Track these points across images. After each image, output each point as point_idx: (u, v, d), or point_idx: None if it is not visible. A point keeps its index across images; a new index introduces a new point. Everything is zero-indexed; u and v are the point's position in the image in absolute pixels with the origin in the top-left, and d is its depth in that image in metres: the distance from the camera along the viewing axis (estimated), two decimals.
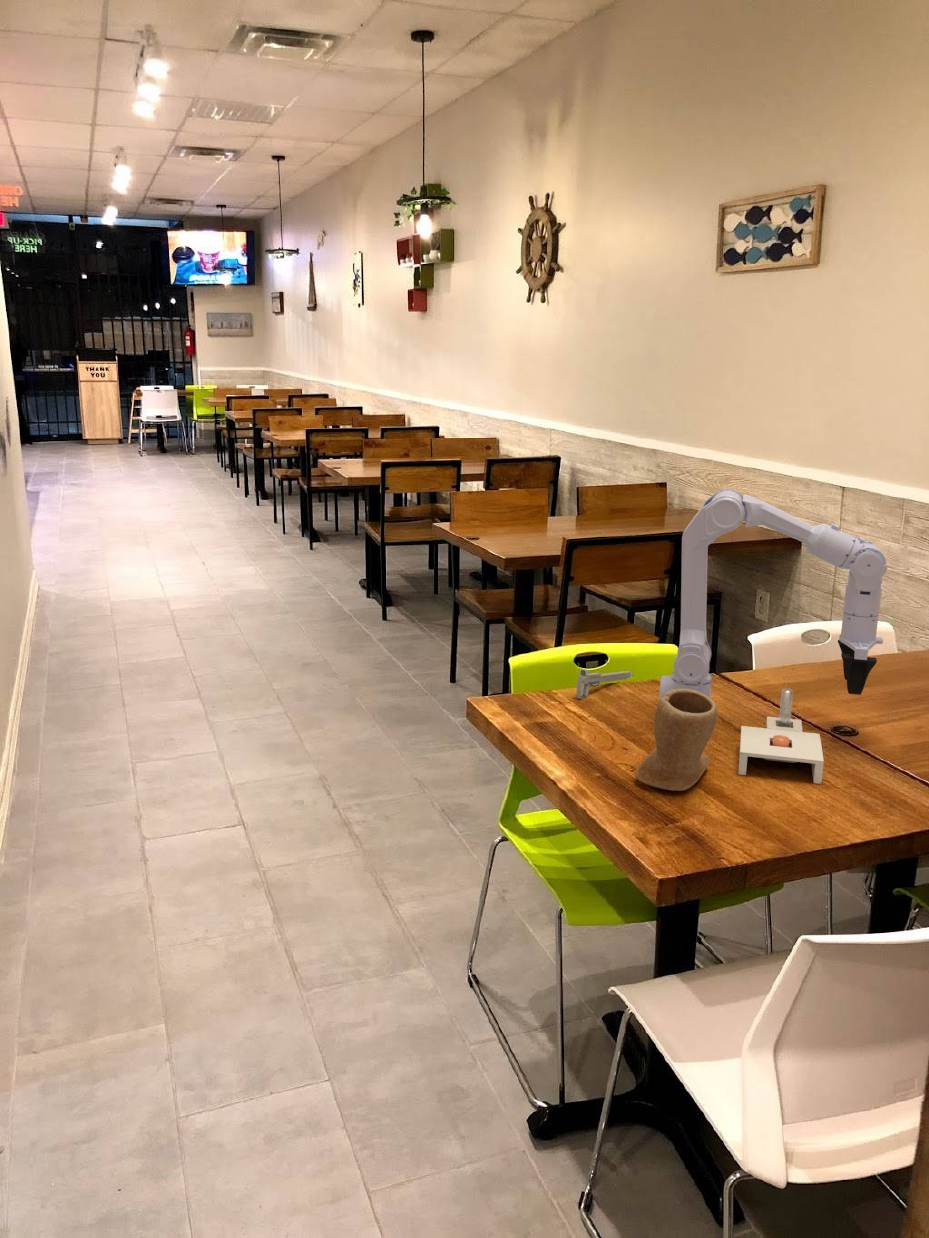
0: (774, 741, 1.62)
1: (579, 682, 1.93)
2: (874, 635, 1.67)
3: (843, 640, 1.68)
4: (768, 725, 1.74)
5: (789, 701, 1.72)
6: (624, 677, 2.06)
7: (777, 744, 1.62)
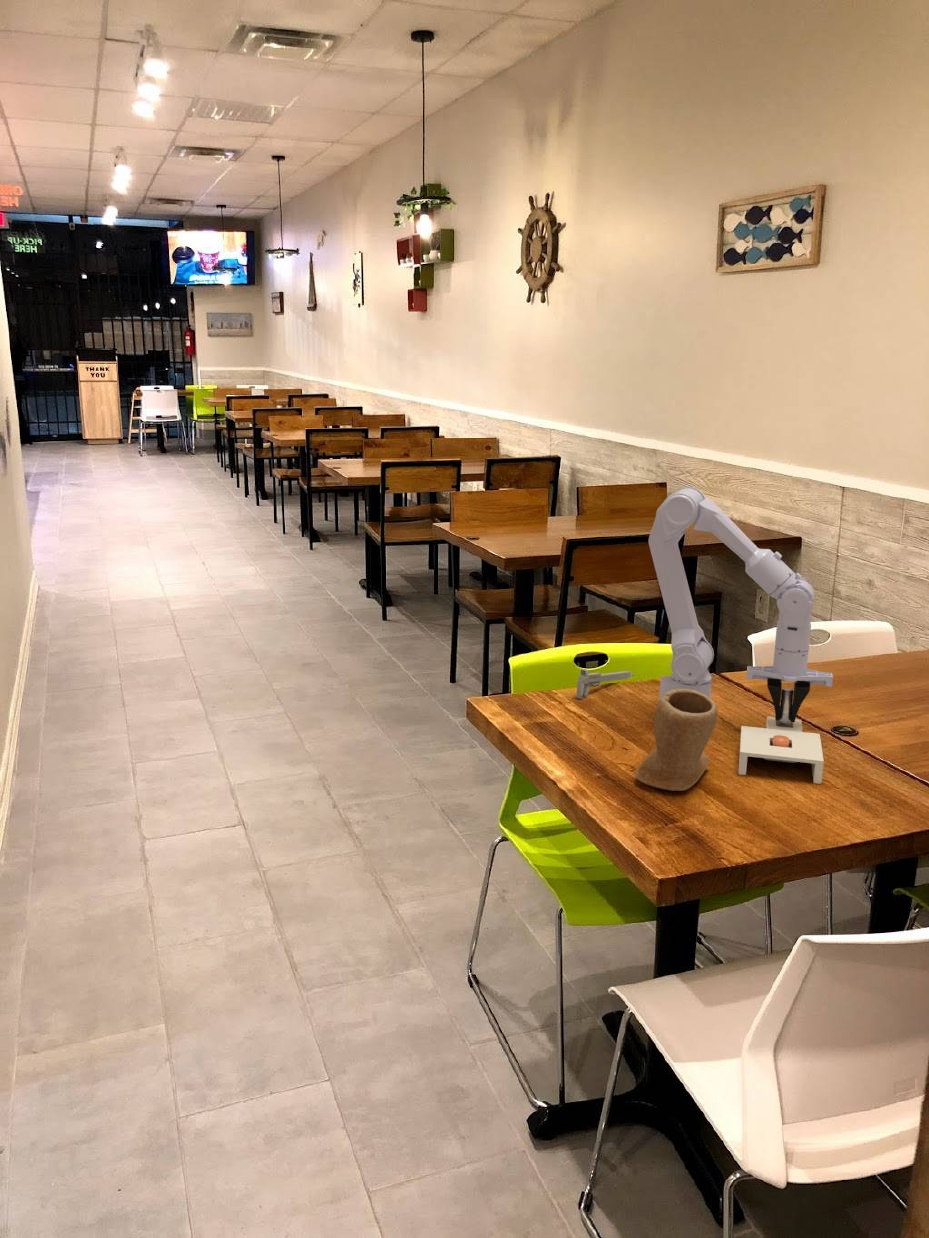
0: (774, 741, 1.62)
1: (579, 682, 1.93)
2: (781, 669, 1.70)
3: None
4: (768, 725, 1.74)
5: (789, 701, 1.72)
6: (624, 677, 2.06)
7: (777, 744, 1.62)
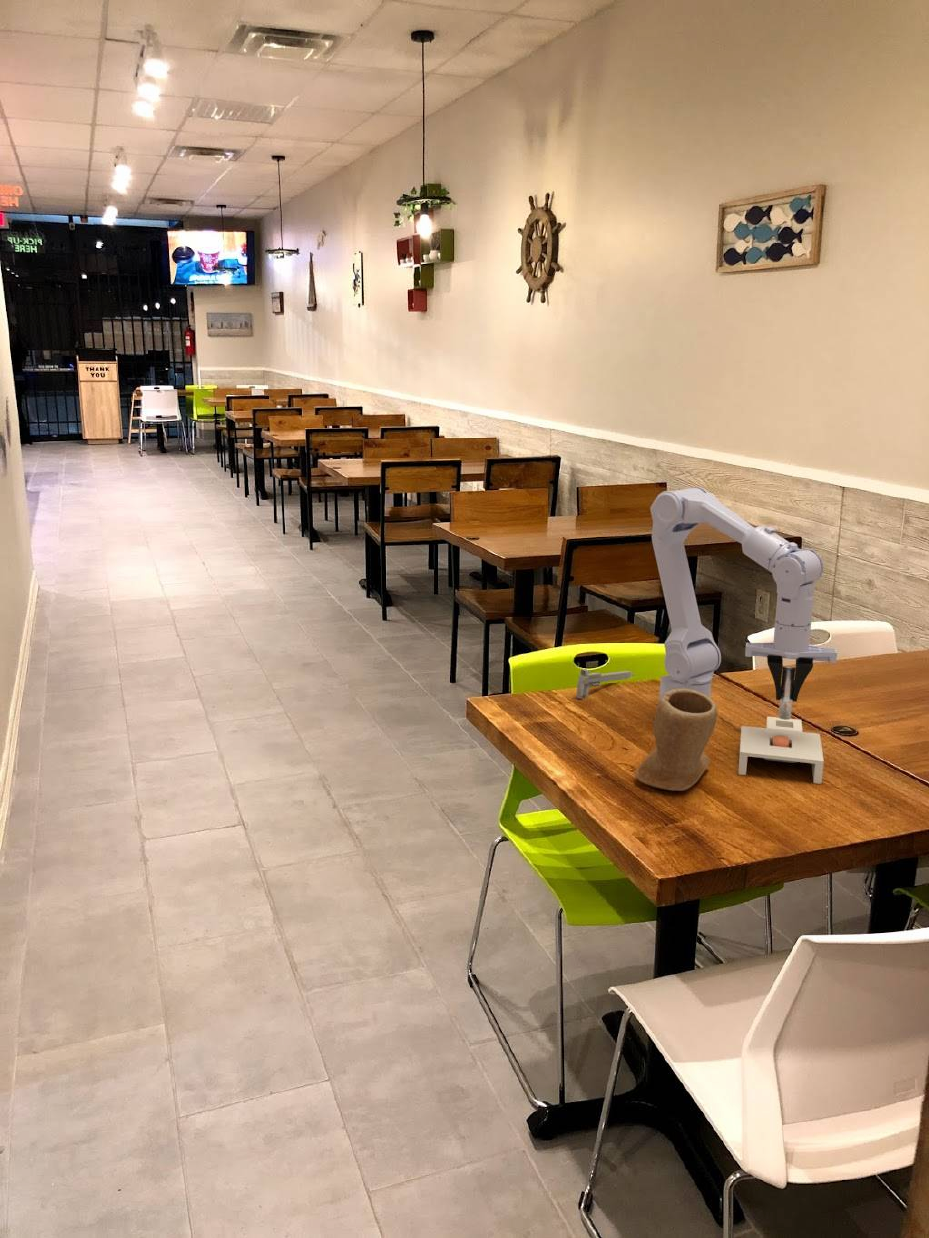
0: (774, 741, 1.62)
1: (579, 682, 1.93)
2: (782, 645, 1.60)
3: None
4: (768, 725, 1.74)
5: (791, 679, 1.62)
6: (624, 677, 2.06)
7: (777, 744, 1.62)
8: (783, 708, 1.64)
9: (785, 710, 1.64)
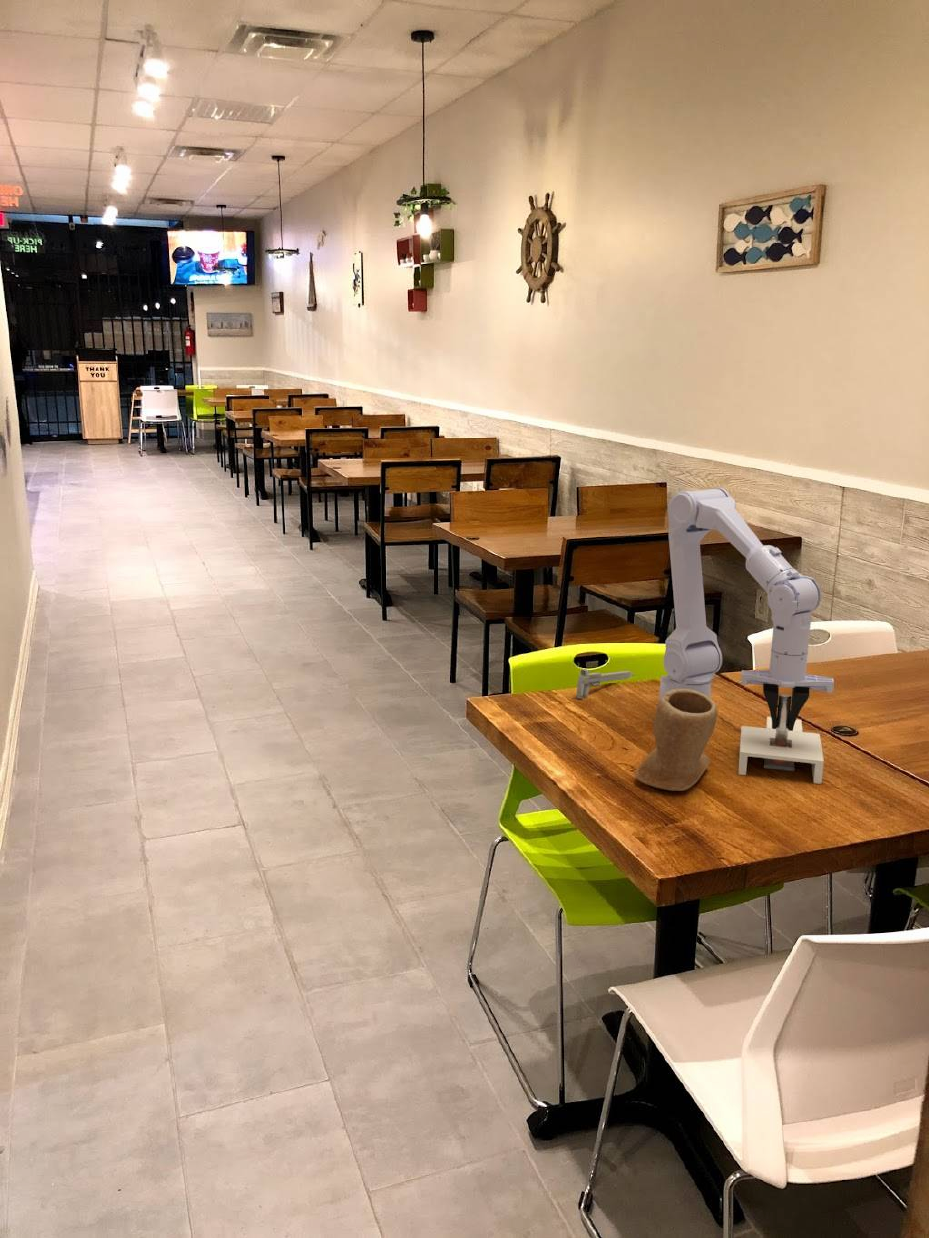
0: None
1: (579, 682, 1.93)
2: (778, 674, 1.57)
3: None
4: (768, 725, 1.74)
5: (787, 708, 1.60)
6: (624, 677, 2.06)
7: None
8: (779, 738, 1.61)
9: (781, 739, 1.61)
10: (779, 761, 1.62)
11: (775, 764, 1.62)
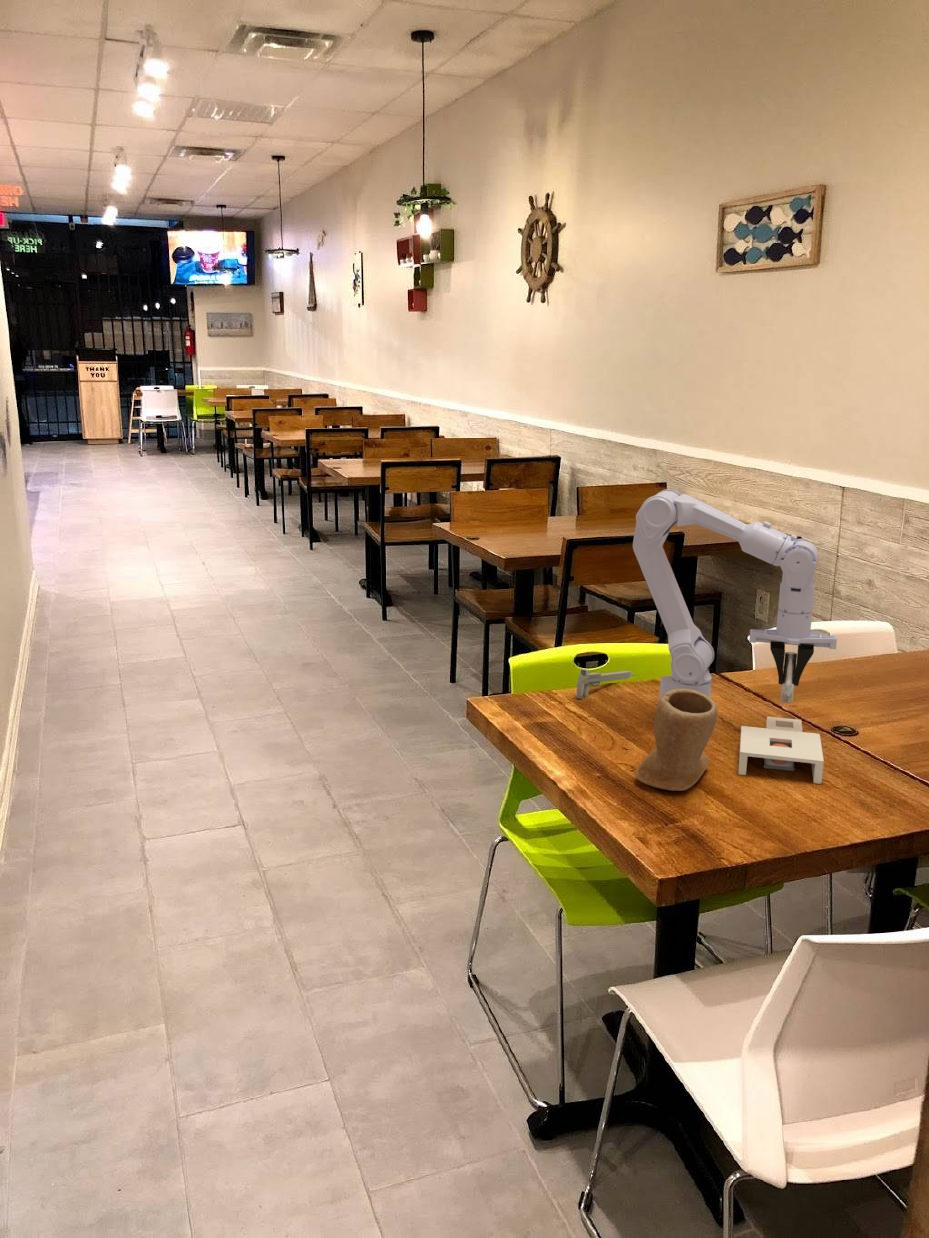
0: None
1: (579, 682, 1.93)
2: (785, 632, 1.68)
3: None
4: (768, 725, 1.74)
5: (793, 665, 1.70)
6: (624, 677, 2.06)
7: None
8: (785, 692, 1.72)
9: (787, 694, 1.72)
10: (779, 761, 1.62)
11: (775, 764, 1.62)
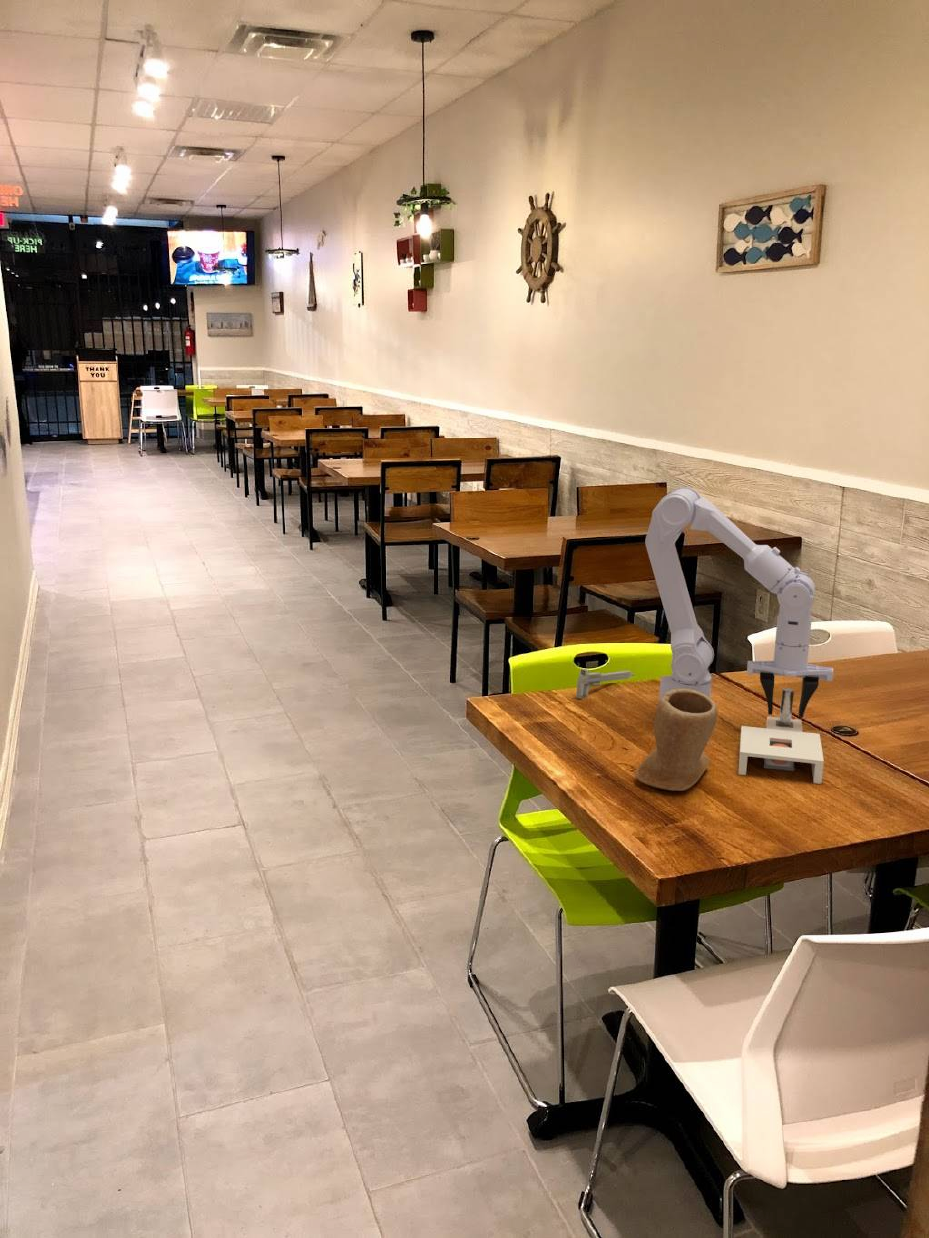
0: None
1: (579, 682, 1.93)
2: (782, 664, 1.70)
3: None
4: (768, 725, 1.74)
5: (790, 701, 1.72)
6: (624, 677, 2.06)
7: None
8: None
9: None
10: (779, 761, 1.62)
11: (775, 764, 1.62)
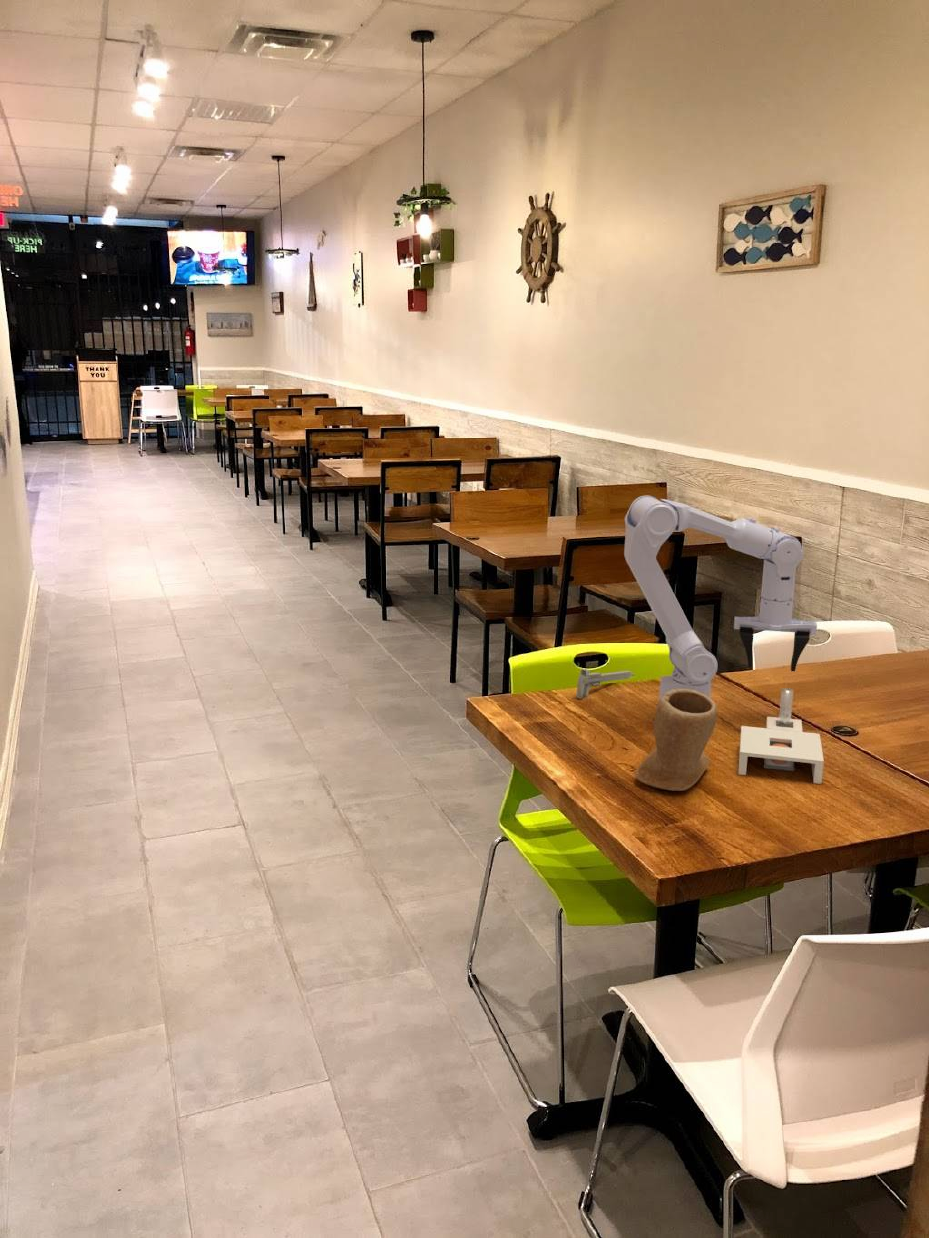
0: None
1: (579, 682, 1.93)
2: (767, 618, 1.76)
3: None
4: (768, 725, 1.74)
5: (789, 701, 1.72)
6: (624, 677, 2.06)
7: None
8: None
9: None
10: (779, 761, 1.62)
11: (775, 764, 1.62)
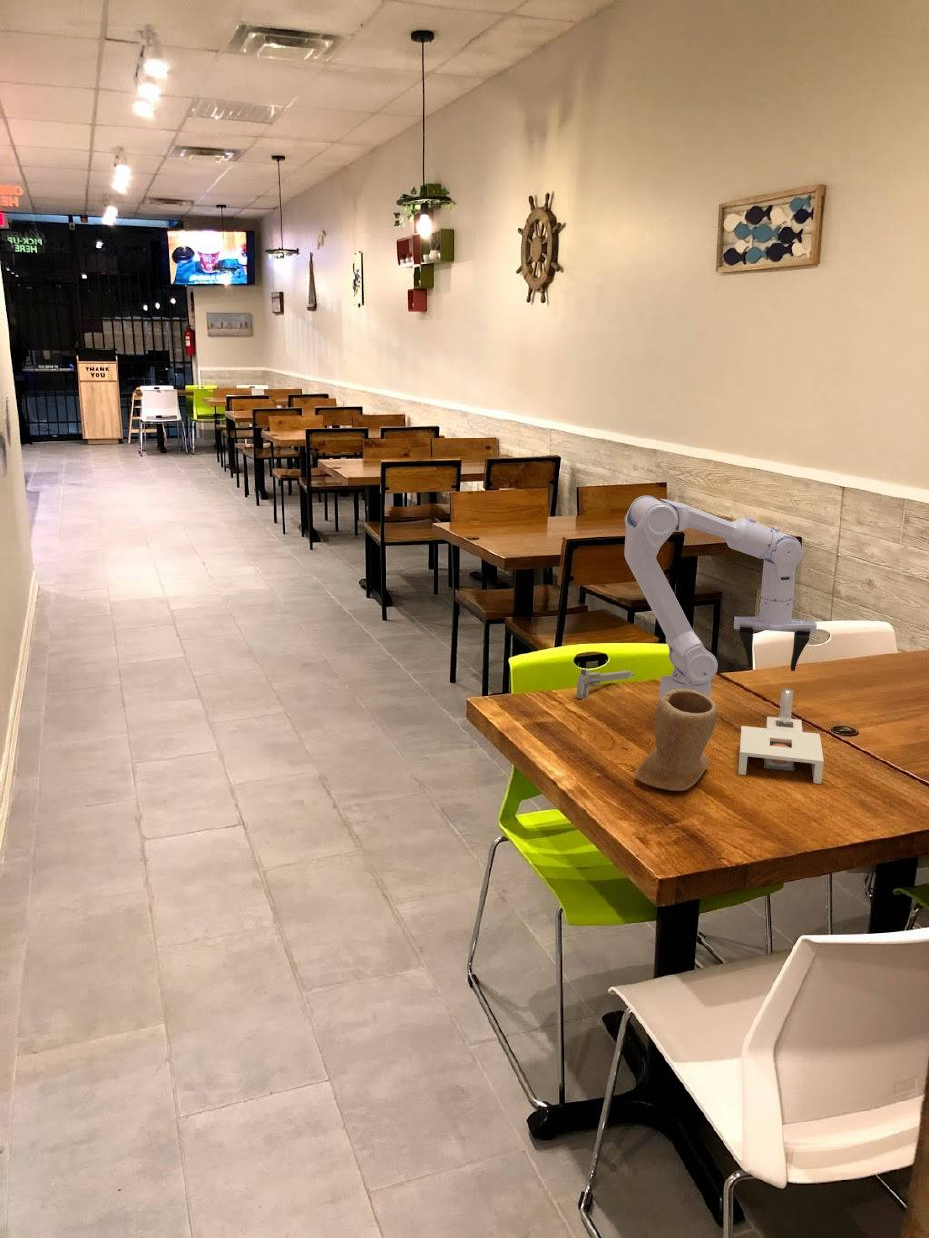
0: None
1: (579, 682, 1.93)
2: (767, 618, 1.76)
3: None
4: (768, 725, 1.74)
5: (789, 701, 1.72)
6: (624, 677, 2.06)
7: None
8: None
9: None
10: (779, 761, 1.62)
11: (775, 764, 1.62)
